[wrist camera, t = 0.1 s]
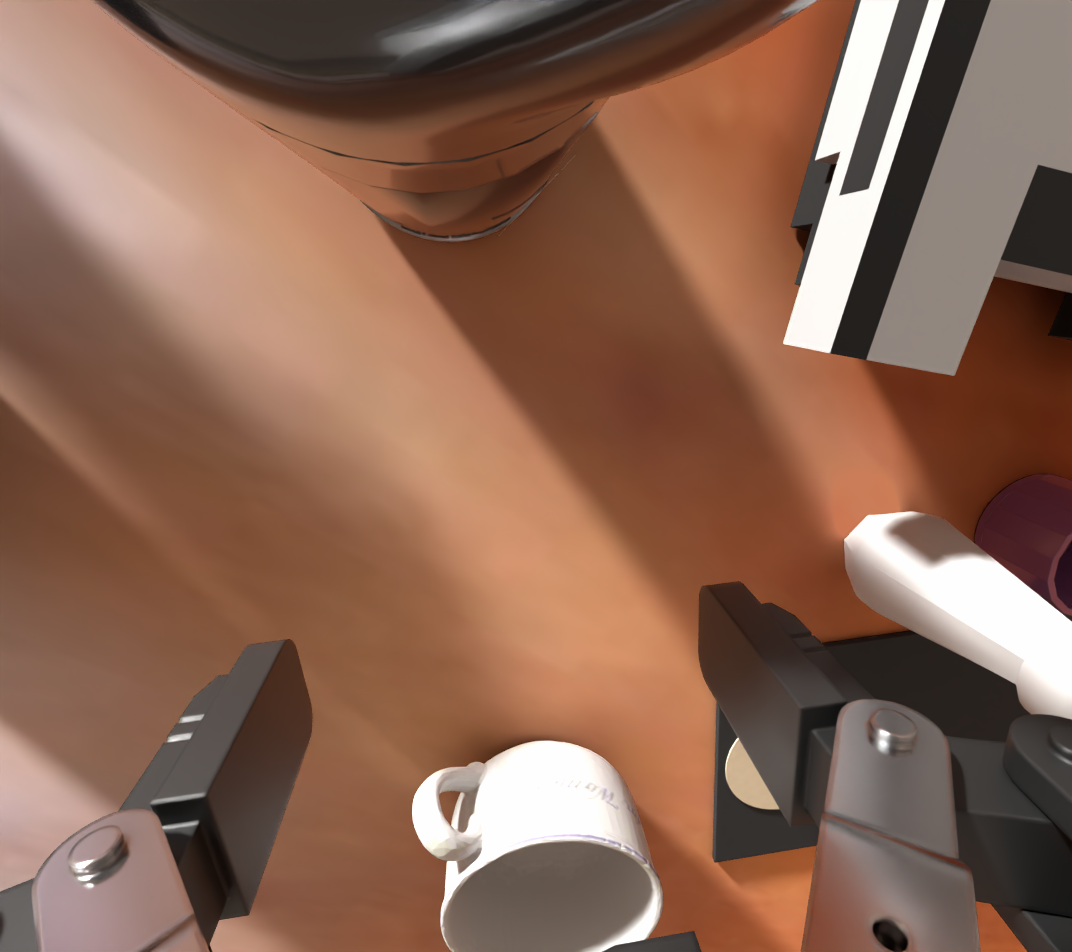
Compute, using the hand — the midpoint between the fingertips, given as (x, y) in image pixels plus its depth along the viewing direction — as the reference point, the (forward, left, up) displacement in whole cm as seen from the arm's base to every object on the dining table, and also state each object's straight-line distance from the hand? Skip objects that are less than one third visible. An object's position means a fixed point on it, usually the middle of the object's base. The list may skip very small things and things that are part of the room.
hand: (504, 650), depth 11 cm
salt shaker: (+9, +21, -17) cm, 29 cm away
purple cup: (+9, +30, -17) cm, 36 cm away
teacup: (+21, 0, -17) cm, 27 cm away
